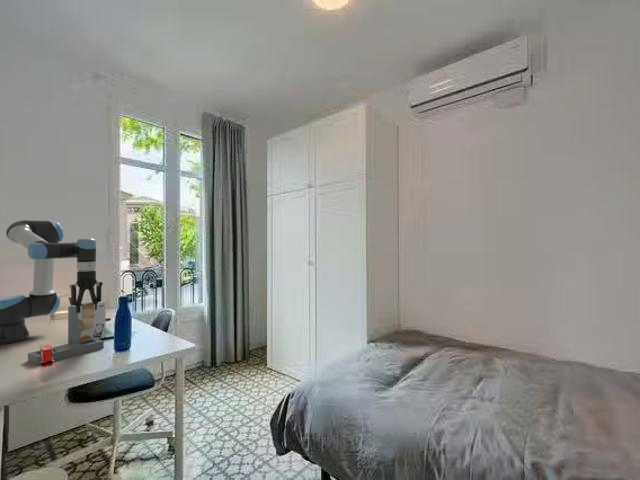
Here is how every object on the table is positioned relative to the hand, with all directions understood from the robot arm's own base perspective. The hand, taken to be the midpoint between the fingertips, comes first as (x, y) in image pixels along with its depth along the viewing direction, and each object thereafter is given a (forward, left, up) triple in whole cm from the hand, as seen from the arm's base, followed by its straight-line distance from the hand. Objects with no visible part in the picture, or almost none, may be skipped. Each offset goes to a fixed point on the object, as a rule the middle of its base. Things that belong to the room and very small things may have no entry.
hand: (86, 318), depth 159 cm
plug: (0, 0, -6) cm, 6 cm away
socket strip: (0, -8, -15) cm, 17 cm away
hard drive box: (-14, +6, -15) cm, 21 cm away
